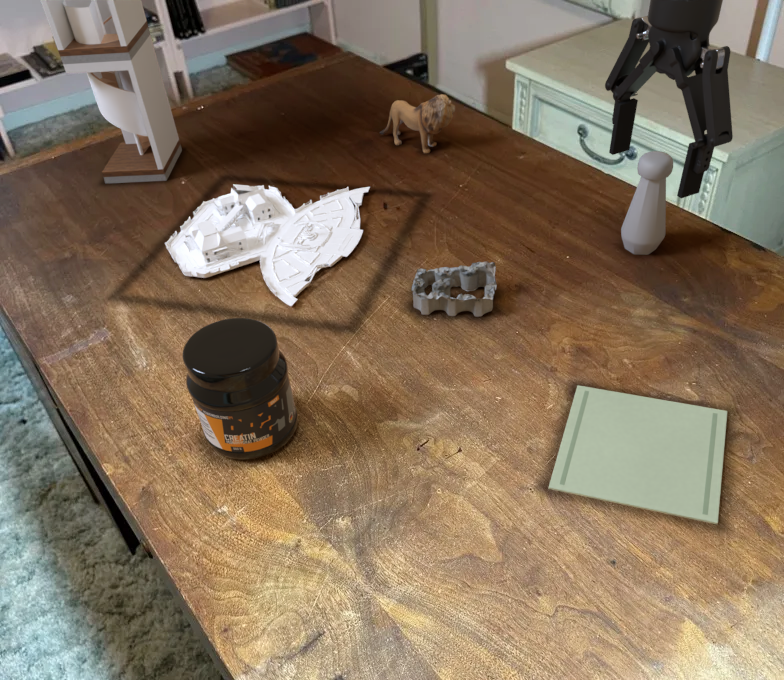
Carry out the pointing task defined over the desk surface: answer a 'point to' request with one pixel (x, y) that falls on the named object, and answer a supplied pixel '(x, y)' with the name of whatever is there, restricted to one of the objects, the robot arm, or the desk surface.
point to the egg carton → (456, 276)
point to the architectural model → (269, 236)
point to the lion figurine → (421, 118)
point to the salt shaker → (648, 205)
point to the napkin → (643, 453)
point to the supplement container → (240, 388)
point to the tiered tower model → (120, 81)
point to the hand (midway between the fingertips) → (652, 172)
